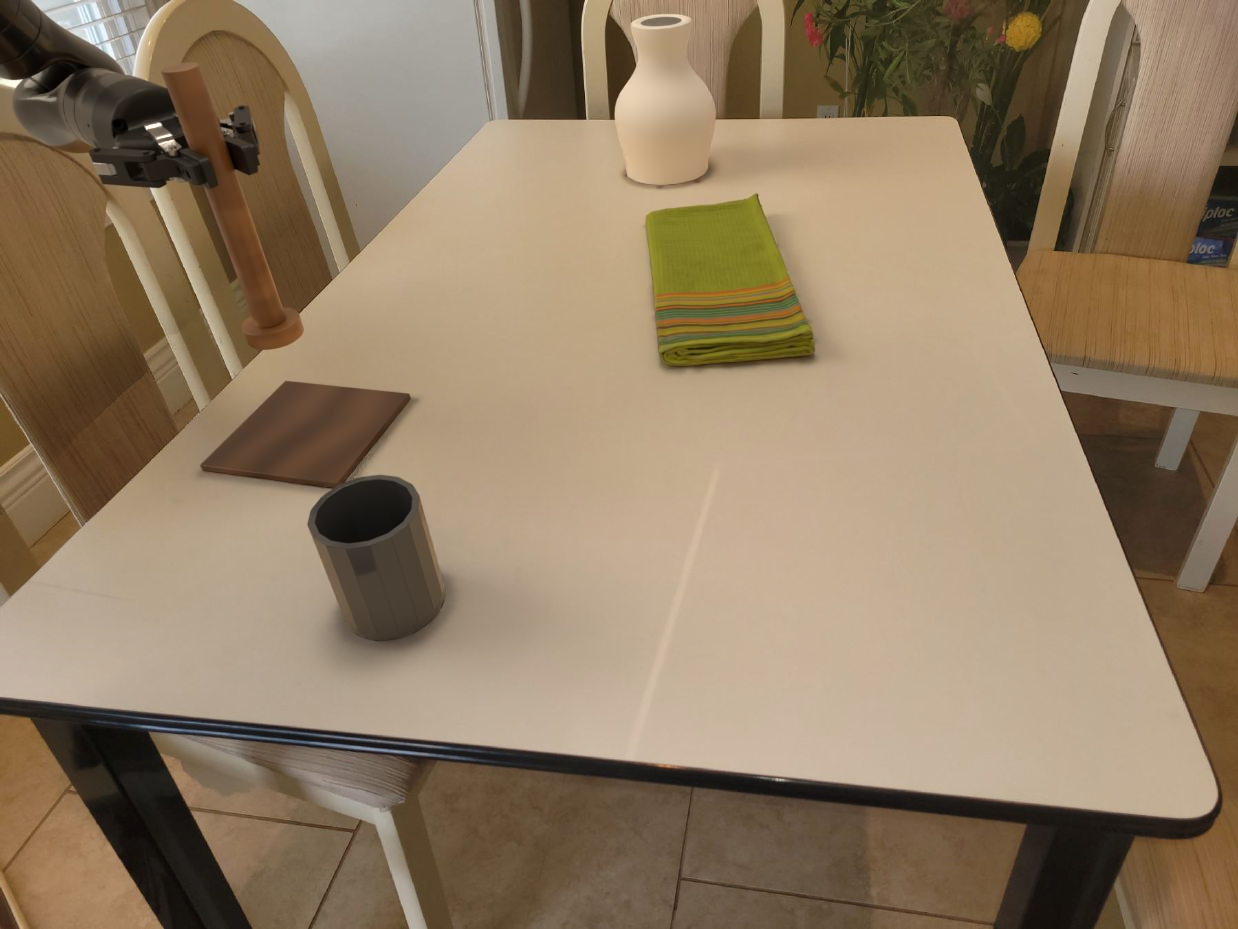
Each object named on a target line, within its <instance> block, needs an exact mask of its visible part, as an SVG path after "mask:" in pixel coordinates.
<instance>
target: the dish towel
mask: <svg viewBox="0 0 1238 929" xmlns="http://www.w3.org/2000/svg"><path fill="white" fill-rule="evenodd" d="M645 228H646V234H647V235H646V236H647V244H648V251H649V252H648V253H649V260H650V266H651V277H652V278H651V279H652V288H653V297H654V312H655V327H656V336H657V345H658V354H659V357H660V359H661V362H662V363H663V364H665V365H669V366H672V367H673V366H676V367H685V366H686V367H687V366H688V367H691V366H701V365H708V364H719V363H733V362H739V363H740V362H745V361H759V360H761V361H762V360H770V359H780V358H790V357H793V358H794V357H805V356H810V355H812V354H814V353H815V352H816V343H815V340H814V333H813V327H811V325H810V324H809V322H808V320H807V318H806V316H805V314H804V312H803V309H802V305H801V304H800V300H799V298H798V296H797V294H796V293H797V292H796V290H795V287H794V284H793V282H792V280H791V277H790V275H789V273H788V269H787V267H786V263H785V261H784V258H783V255H782V253H781V251H780V249H779V246H778V243H777V242H776V239H775V235H774V233H773V230H772V229H771V227H770V224H769V222H768V219H767V217H766V214H765V212H764V209H763V205H762V204H761V202H760V199H759V193H757V192H756V193H754V194H752V195H751V196H749V197H747V198H743V199H734V200H730V201H729V200H727V201H724V202H717V203H710V204H709V203H708V204H697V205H690V206H689V205H688V206H678V207H667V208H662V209H657V210H653V211H650V212H648V213H647V214H646V215H645Z"/></svg>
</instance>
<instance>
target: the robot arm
mask: <svg viewBox="0 0 1238 929" xmlns="http://www.w3.org/2000/svg"><path fill="white" fill-rule="evenodd" d="M0 79H4V80H8V81H20V82H19V83H18V84H17V85H16V86H15V88H14V90H13V91H12V93H11V99H10V100H11V101H10V104H11V105H10V106H11V110H12V112H13V113H12V114H13V115H14V117H15V119H16V120H17V122H18V124H19V125H20V126H21V127H22V129H24V131H26V132H27V133H28V134H29V135H30V136H32V137H33V138H34V139H36V140H37V141H39V142H41V144H44V145H46V146H48V147H51V148H53V149H55V150H59V151H61V152H65V153H70V154H88V155H89V157H90V159H91V162H92V164H93V166H94V168H95V171H96V173H97V176H98V177H99V180H100V182H101V184H102V185H106V186H107V185H109V186H120V187H121V186H122V187H132V188H133V187H136V188H148V189H149V188H150V189H161V188H163V187H165V186H167V185H168V182H170V181H171V182H173V181H175V182H177V183H182V184H183V183H189V184H191V185H193V186H202V187H203V188H204V187H205V188H207V189H211V188H214V187H217V186H218V181H217V178H216V175H215V172H214V170H213V167H212V164H211V162H210V160H209V159H208V157H206V156H204V155H202V154H200V153H197V152H195V151H193V150H190V148H189V146H188V143H187V140H186V137H185V135H184V132H183V129H182V127H181V124H180V121H179V119H178V116H177V113H176V111H175V108H174V105H173V102H172V100H171V97H170V94H169V92H168V89H167V87H165V86H163V85H159V84H157V83H154V82H151V81H148V80H146V79H143V78H141V77H137V76H135V75H130V74H126V73H125V71H124V69H123V68H122V66H121V64H119V63H118V62H117V61H116V60H115V59H114V58H113V57H112V56H111V55H110V54H108V53H107V52H106V51H104V50H103V49H101V48H99V47H98V46H96V45H95V44H93V43H91V42H90V41H87V40H86V39H84V38H82V37H81V36H78V35H76V34H74V33H72V32H71V31H69V30H67V29H66V28H65V27H63V26H62V25H60V24H59V23H57V22H56V21H54V20H53V19H52V18H50V16H48V15H47V14H46V13H45V12H44V11H43V10H41V8H40V7H39V6H38V5H36V3H35V2H34V1H33V0H0ZM228 116H229V117H228V118H222V119H219V117H218V116H217V118H218V121H219V124H220V127H221V130H222V133H223V135H224V138H225V141H226V144H227V147H228V150H229V153H230V156H231V159H232V162H233V164H234V167H235V170H236V171H238V172H240V173H243V174H245V175H246V176H252V175H255V174H258V173H259V166H261V163H260V160H259V155H261V148H260V139H259V134H258V131H257V128H256V124H255V121H254V118H253V116H252V112H251V108H250V106H249V105H244V104H241V105H237V106H236V107H234V108H233V111H230V112H228Z"/></svg>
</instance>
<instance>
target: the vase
mask: <svg viewBox="0 0 1238 929" xmlns="http://www.w3.org/2000/svg"><path fill="white" fill-rule="evenodd" d="M692 29H693V21H692V18H691V17H690V16H687V15H684V14H678V13H660V14H650V15H645V16H642V17H639V18H636V19H634V20H633V21H632V22H630V31H631V35H632V38H633V41H634V43H635V44H634V45H635V47H636V50H637V62H636V65H635V69H634V71H633V73H632V74H631V76H630V78H629V79H628V81H627V82H626V84H625V85H624V86H623V88H622V89H621V90H620V93H619V94H618V97H617V99H616V102H615V106H614V123H615V129H616V134H617V136H618V141H619V145H620V148H621V151H622V155H623V158H624V163H625V172H626V176H627V177H628V178H629V179H631V180H633V181H634V182H638V183H641V184H644V185H655V186H668V185H677V184H683V183H688V182H690V181H695V180H696V179H698V178H700V177H702V176H704V175H705V174H706V172H707V171H708V169H709V158H710V151H711V148H712V142H713V138H714V134H715V128H716V127H715V126H716V120H717V114H716V113H717V111H716V110H717V109H716V104H715V100H714V97H713V95H712V93H711V92H710V90H709V88H708V86H707V84H706V83H705V82H704V81H703V79H702V78H701V77H700V76H699V75H698V74H697V72H695V70H694V68H693V67H692V66H691V64H690V62H689V58H688V46H689V41H690V38H691V34H692Z"/></svg>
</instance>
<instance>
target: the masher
mask: <svg viewBox="0 0 1238 929" xmlns="http://www.w3.org/2000/svg"><path fill="white" fill-rule="evenodd" d="M160 73H161V75H162V78H163V81H164V83H165V84H164V85H165V86H166V88H167V89H168V92H169V94H170V97H171V100H172V102H173V105H174V108H175V111H176V113H177V116H178V119H179V121H180V124H181V127H182V129H183V132H184V135H185V137H186V140H187V143H188V146H189V148H190V150H193V151H195V152H197V153H200V154H202V155H204V156H206V157H208V159H209V160H210V162H211V164H212V167H213V170H214V172H215V175H216V178H217V181H218V186H217V187H214V188H211V189H207V188H205V187H203V188H204V191H205V194H206V196H207V200H208V201H209V204H210V207H211V210H212V212H213V216H214V218H215V222H216V223H217V226H218V228H219V232H220V234H221V237H222V240H223V242H224V245H225V248H226V251H227V253H228V256H229V258H230V261H231V264H232V267H233V269H234V272H235V275H236V278H237V280H238V282H239V285H240V289H241V291H242V294H243V297H244V299H245V302H246V304H247V306H248V310H249V314H250V316H248V317H247V318H246V319H245V320H244V321H243V322H242V324H241V330H242V332H243V336H244V338H245V341H246V344H247V345H248V346H249V347H250V348H252V349H254V350H259V351H269V350H275V349H276V350H277V349H280V348H284V347H287V346H289V345H291V344H293V343H294V342H296V341H297V340H299V339H300V338H301V337H302V336H303V335H304V332H305V327H304V325H303V322H302V319H301V316H300V313H299V312H298V311H297V310H296V309H294V308H293V307H292V308H291V307H286V306H285V307H284V306H283V304H282V300H281V298H280V295H279V293H278V289H277V286H276V284H275V281H274V278H273V275H272V272H271V269H270V267H269V263H268V261H267V258H266V254H265V251H264V249H263V246H262V244H261V240H260V237H259V235H258V232H257V229H256V225H255V223H254V220H253V217H252V215H251V211H250V209H249V205H248V203H247V199H246V196H245V193H244V191H243V188H242V185H241V182H240V179H239V177H238V174H237V170H236V169H235V167H234V164H233V162H232V159H231V156H230V153H229V150H228V147H227V144H226V141H225V138H224V135H223V133H222V130H221V127H220V124H219V121H218V119H219V117H218V115H217V112H216V110H215V106H214V104H213V100H212V97H211V94H210V92H209V89H208V86H207V82H206V81H205V77H204V75H203V72H202V69H201V66H200V64H199V63H198V62H193V61H189V62H179V63H175V64H171V65H168V66H165V67H163V68H161V70H160ZM217 117H218V118H217Z"/></svg>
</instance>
